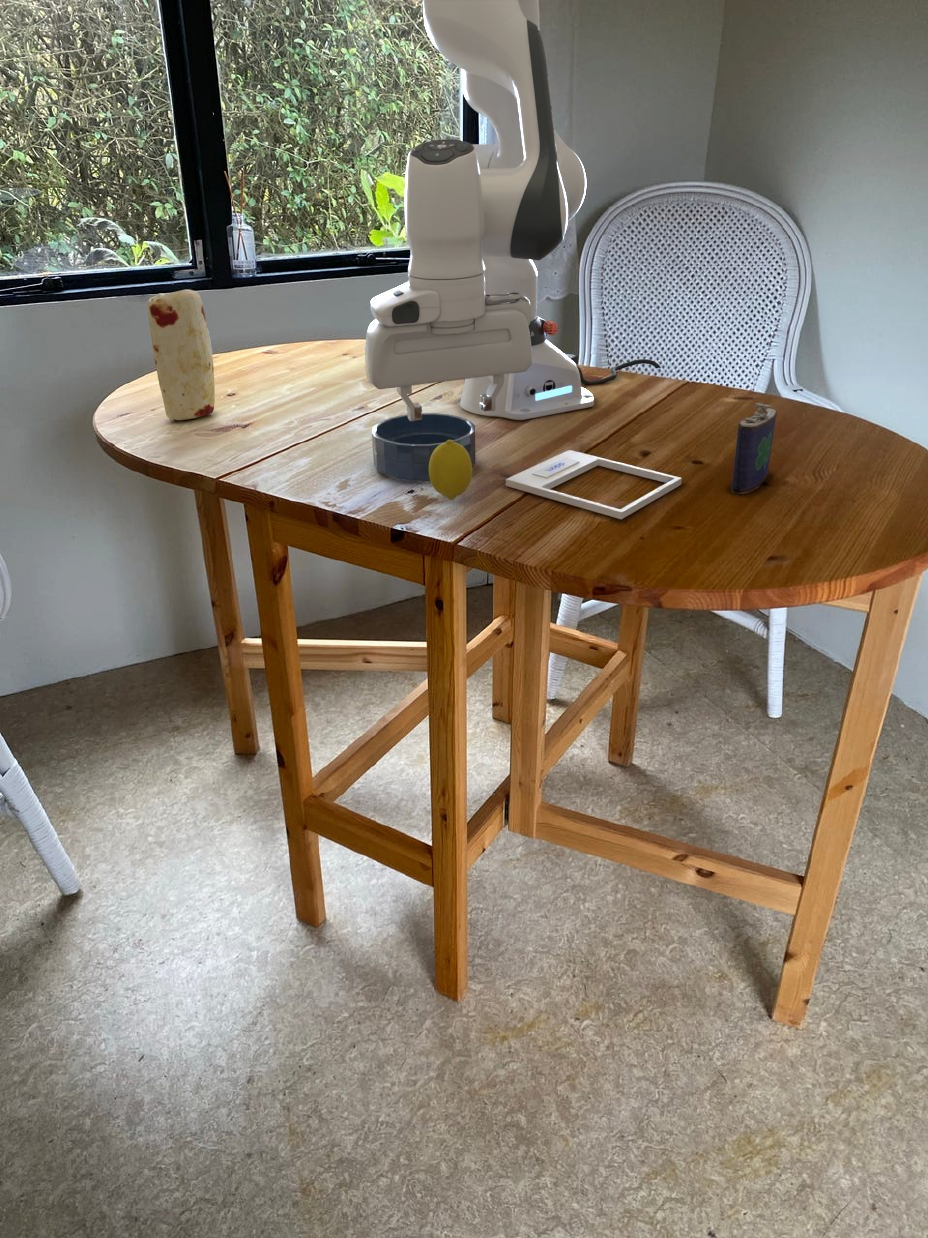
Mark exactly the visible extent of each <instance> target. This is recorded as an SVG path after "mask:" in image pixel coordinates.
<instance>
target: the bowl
mask: <svg viewBox="0 0 928 1238" xmlns="http://www.w3.org/2000/svg"><path fill="white" fill-rule="evenodd" d="M421 415H422V420H416V421H410V420H409V419H408V416H407V414H402V415H398V416H393V417H389V418H387V419H384V420H382V421H379V422H377V423H376V424H375V425H374V426H373V427H372V429H371V442H372V443H371V444H372V454H373V456H372V457H373V466H374V467H375V470H376V471H377V472H378V473H381V474H382V475H384V476H387V477H390V478H393V479H398V480H402V481H403V480H404V481H409V482H431V481H430V477H429V462H430V458H431V455H432V453H433V451H434V450H435V448H436V447H438V446H439V445H440V444H442V443H445V442H446V441H447V440H452V441H453V442H455V443H458V444H460V445H462V446H463V447H464V448H465V449H466V450H467V452H468V454H469V456H470V459H471V463H472V468H474V466H475V465H476V425H475V424H474V423H473V422H472V421H471V420H469V419H467V418H465V417H462V416H458V415H453V414H449V413H439V412H437V413H436V412H422V413H421Z"/></svg>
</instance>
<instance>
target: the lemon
mask: <svg viewBox="0 0 928 1238" xmlns="http://www.w3.org/2000/svg"><path fill="white" fill-rule="evenodd" d="M429 477H430V481H429V482H430V484H431V486H432V488H433V490H435V491H436V492H437V494H440V495H441V496H443V497H445V498H446V499H448V500H449V501H453V500H454V499H455V498H457V497H458V496H460V495H462V494H463V493H465V492H466V491H467V490H468V488H469V486H470V485H471V482H472V478H473V467H472V463H471V459H470V456H469V454H468V452H467V450H466V449H465V448H464V447H463V446H462V445H460V444H458V443H455V442H453V441H452V440H447V441H446V442H445V443H442V444H440V445H439V446H438V447H436V448H435V450H434V451H433V453H432V455H431V458H430V462H429Z"/></svg>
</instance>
